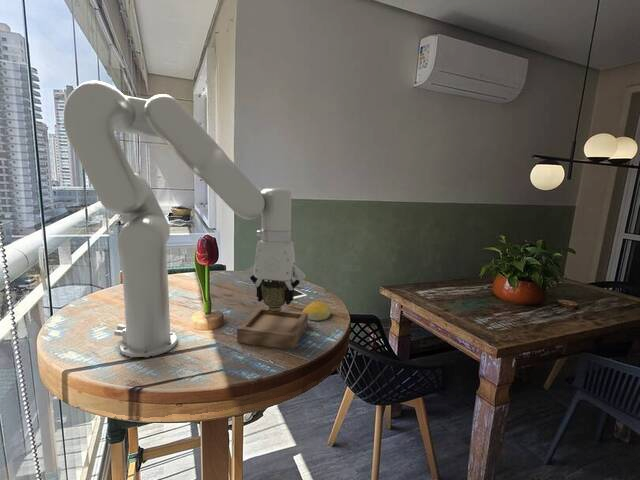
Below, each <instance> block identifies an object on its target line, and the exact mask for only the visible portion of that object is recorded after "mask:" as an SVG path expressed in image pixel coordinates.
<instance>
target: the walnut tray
mask: <svg viewBox="0 0 640 480" xmlns="http://www.w3.org/2000/svg"><path fill="white" fill-rule="evenodd" d="M308 320H309V319H308V313H304V312H302V311H296V310H295V311H294V310H287V309H286V310H285V309H281V311H280V312H278V313H272V312H269V310H268V307H260V306H259V307H258V308H256V309H255V310H254V311H253V312H252V313H251V314H249V316H248V317H247V318H246V319H245V320H244V321H243V322H241V324H240V325H239V326H238V327H237V328H236V342H237V343H240V344H247V345H256V346H262V347H271V348H278V349H285V350H293V351H294V350H295V349H296V347H297V346H298V343H299V341H300V340H301V338H302V336H303V335H304V332H305V330H306V329H307V327H308V325H309V324H308V323H309V321H308Z"/></svg>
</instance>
